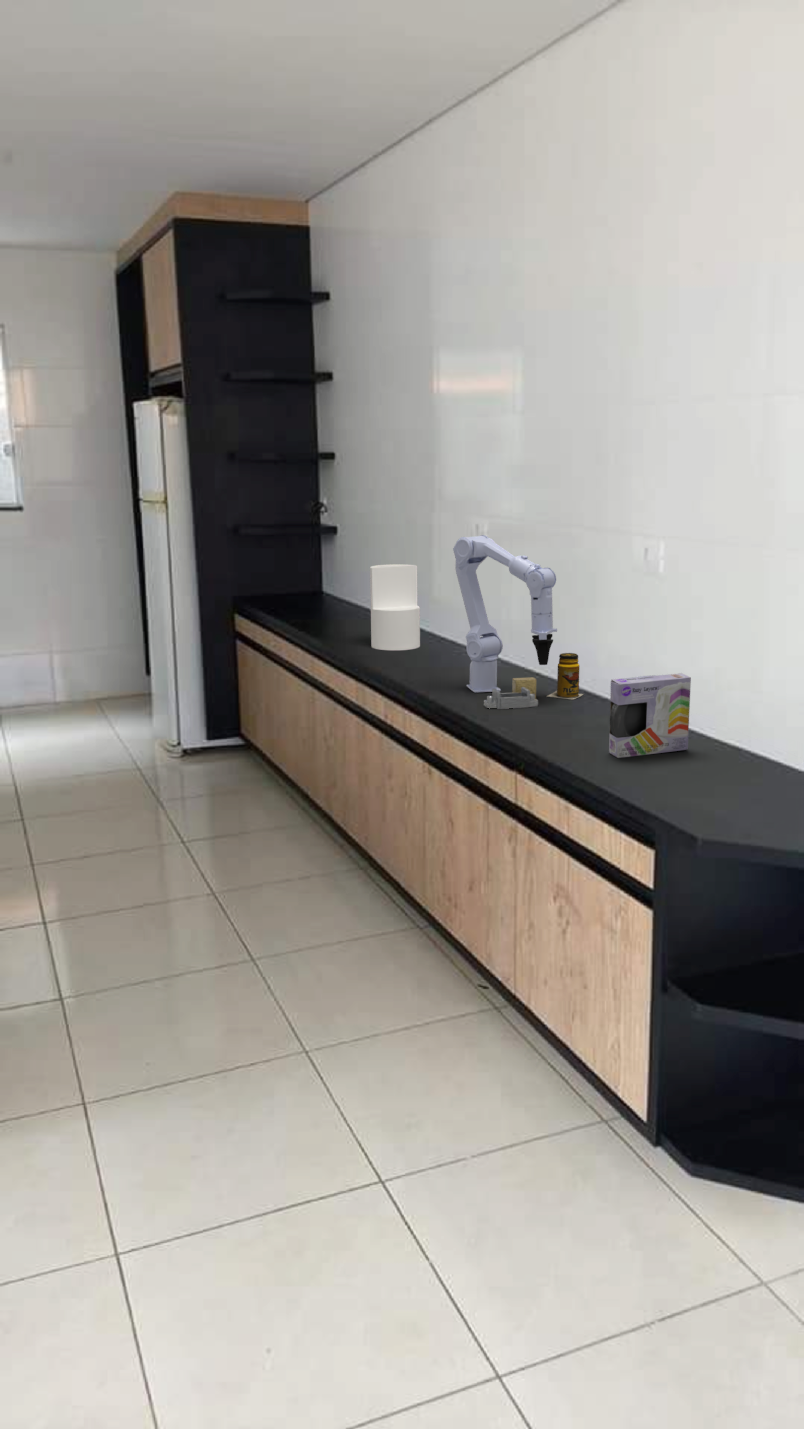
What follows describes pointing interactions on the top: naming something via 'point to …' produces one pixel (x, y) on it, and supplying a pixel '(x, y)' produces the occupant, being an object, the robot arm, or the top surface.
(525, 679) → the tan block
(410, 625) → the cylinder
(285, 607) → the top surface
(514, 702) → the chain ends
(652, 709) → the cake pan box
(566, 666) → the condiment
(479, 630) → the robot arm
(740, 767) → the top surface
